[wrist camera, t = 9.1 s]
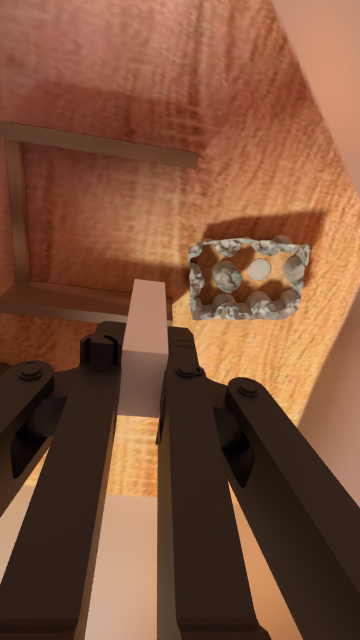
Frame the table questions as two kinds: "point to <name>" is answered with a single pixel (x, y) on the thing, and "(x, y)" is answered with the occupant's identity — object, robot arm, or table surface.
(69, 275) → the table surface
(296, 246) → the egg carton
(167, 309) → the brown u-shaped frame
